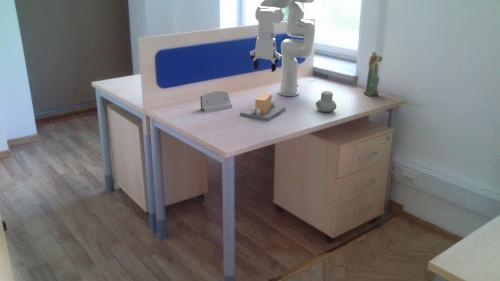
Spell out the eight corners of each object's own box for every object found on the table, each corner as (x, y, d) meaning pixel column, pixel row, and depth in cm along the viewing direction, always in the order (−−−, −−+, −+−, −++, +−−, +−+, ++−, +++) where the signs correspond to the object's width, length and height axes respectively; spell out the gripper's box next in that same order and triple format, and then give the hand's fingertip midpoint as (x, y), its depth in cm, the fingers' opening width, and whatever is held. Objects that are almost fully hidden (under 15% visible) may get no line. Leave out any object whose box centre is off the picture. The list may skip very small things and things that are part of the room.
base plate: (258, 104, 261) (258, 96, 259) (285, 109, 253) (285, 101, 252) (240, 115, 244) (240, 106, 243) (267, 120, 237) (268, 112, 235)
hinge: (204, 111, 248) (201, 92, 247) (200, 112, 252) (197, 93, 251) (232, 107, 256) (229, 88, 255) (228, 107, 260) (225, 89, 259)
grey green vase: (313, 108, 257) (315, 90, 253) (327, 106, 260) (329, 89, 256) (323, 114, 248) (325, 96, 244) (337, 113, 250) (339, 94, 247)
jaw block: (262, 105, 254) (262, 93, 252) (271, 106, 253) (271, 94, 250) (255, 112, 244) (255, 99, 241) (264, 113, 242) (265, 100, 240)
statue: (380, 94, 283) (385, 52, 273) (370, 96, 278) (375, 54, 269) (372, 91, 288) (377, 50, 278) (361, 93, 284) (366, 51, 274)
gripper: (285, 36, 234) (283, 70, 240) (254, 32, 241) (253, 66, 248) (278, 38, 228) (276, 73, 234) (246, 34, 235) (246, 69, 242)
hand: (264, 69), depth 241 cm, fingers open, 9 cm apart
